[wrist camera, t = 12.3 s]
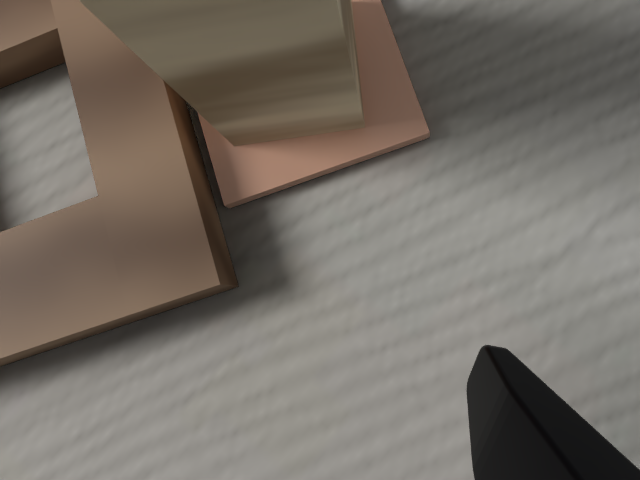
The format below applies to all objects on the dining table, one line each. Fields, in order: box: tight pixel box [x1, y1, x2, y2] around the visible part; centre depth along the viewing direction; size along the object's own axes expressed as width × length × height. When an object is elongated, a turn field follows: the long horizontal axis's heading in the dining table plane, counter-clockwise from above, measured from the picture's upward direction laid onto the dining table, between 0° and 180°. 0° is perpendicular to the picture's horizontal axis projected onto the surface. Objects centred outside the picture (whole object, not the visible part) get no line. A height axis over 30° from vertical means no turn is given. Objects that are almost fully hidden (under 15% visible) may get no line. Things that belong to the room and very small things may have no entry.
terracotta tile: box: [197, 0, 430, 209], centre depth 20 cm, size 8×8×1 cm
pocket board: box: [0, 0, 239, 366], centre depth 21 cm, size 16×14×2 cm
